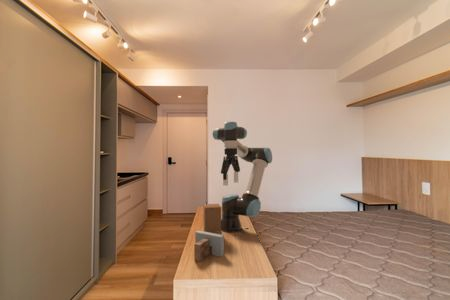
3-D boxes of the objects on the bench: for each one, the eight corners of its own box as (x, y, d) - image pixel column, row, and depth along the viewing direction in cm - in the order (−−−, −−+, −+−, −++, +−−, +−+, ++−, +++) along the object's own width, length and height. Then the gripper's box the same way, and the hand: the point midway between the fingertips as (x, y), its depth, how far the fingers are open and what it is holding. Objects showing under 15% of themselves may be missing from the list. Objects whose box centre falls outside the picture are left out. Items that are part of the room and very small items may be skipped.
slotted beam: (217, 244, 132) (217, 230, 132) (221, 245, 131) (221, 231, 131) (194, 260, 113) (194, 244, 113) (199, 261, 112) (199, 245, 112)
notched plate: (198, 248, 127) (198, 230, 127) (223, 254, 119) (223, 235, 120) (195, 250, 124) (195, 232, 125) (221, 256, 117) (221, 237, 117)
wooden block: (221, 240, 139) (221, 207, 140) (204, 241, 138) (204, 207, 138) (218, 234, 149) (218, 203, 149) (203, 235, 148) (203, 204, 148)
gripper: (234, 148, 149) (234, 181, 149) (214, 147, 127) (214, 186, 127) (245, 148, 145) (245, 181, 145) (226, 147, 123) (226, 187, 123)
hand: (231, 183), depth 136 cm, fingers open, 13 cm apart
